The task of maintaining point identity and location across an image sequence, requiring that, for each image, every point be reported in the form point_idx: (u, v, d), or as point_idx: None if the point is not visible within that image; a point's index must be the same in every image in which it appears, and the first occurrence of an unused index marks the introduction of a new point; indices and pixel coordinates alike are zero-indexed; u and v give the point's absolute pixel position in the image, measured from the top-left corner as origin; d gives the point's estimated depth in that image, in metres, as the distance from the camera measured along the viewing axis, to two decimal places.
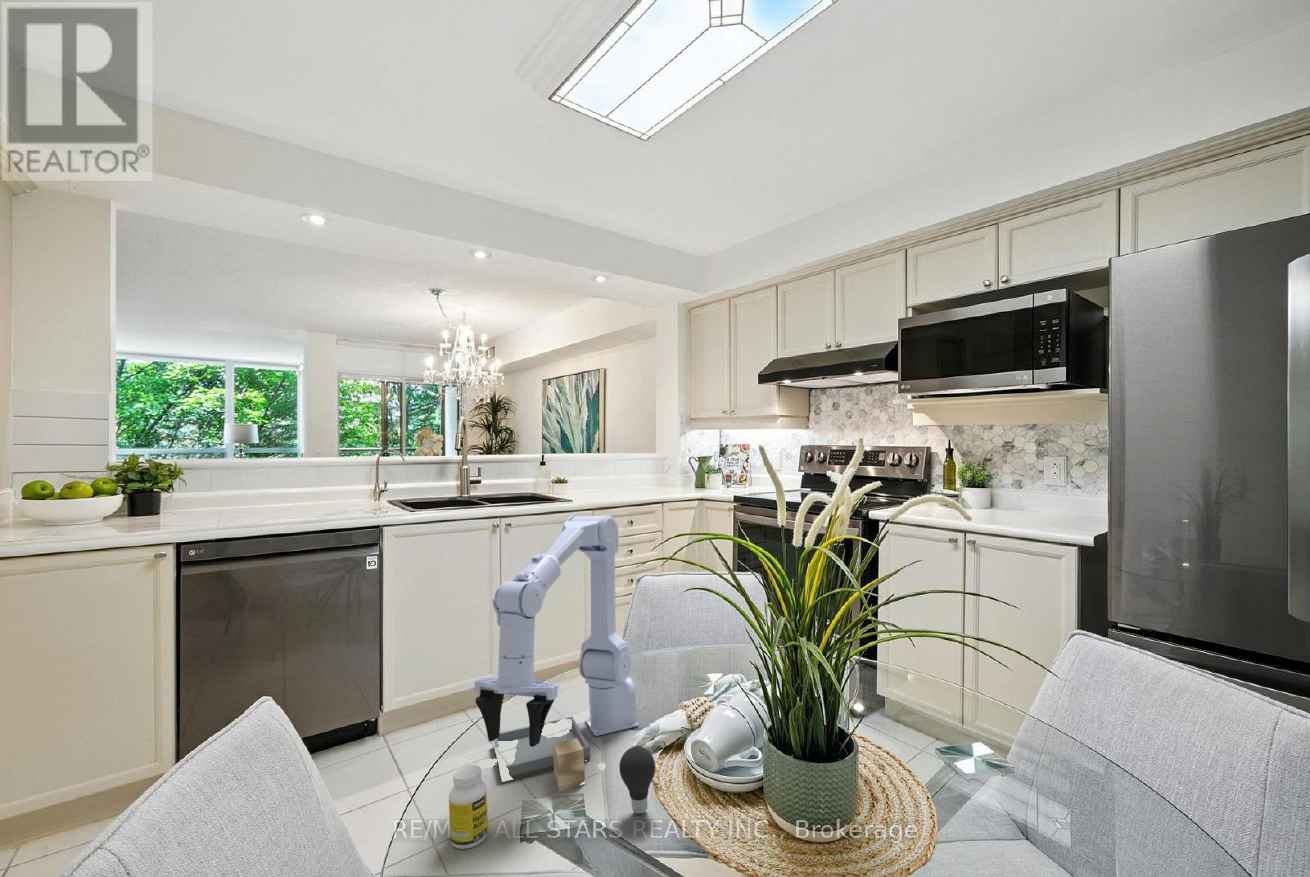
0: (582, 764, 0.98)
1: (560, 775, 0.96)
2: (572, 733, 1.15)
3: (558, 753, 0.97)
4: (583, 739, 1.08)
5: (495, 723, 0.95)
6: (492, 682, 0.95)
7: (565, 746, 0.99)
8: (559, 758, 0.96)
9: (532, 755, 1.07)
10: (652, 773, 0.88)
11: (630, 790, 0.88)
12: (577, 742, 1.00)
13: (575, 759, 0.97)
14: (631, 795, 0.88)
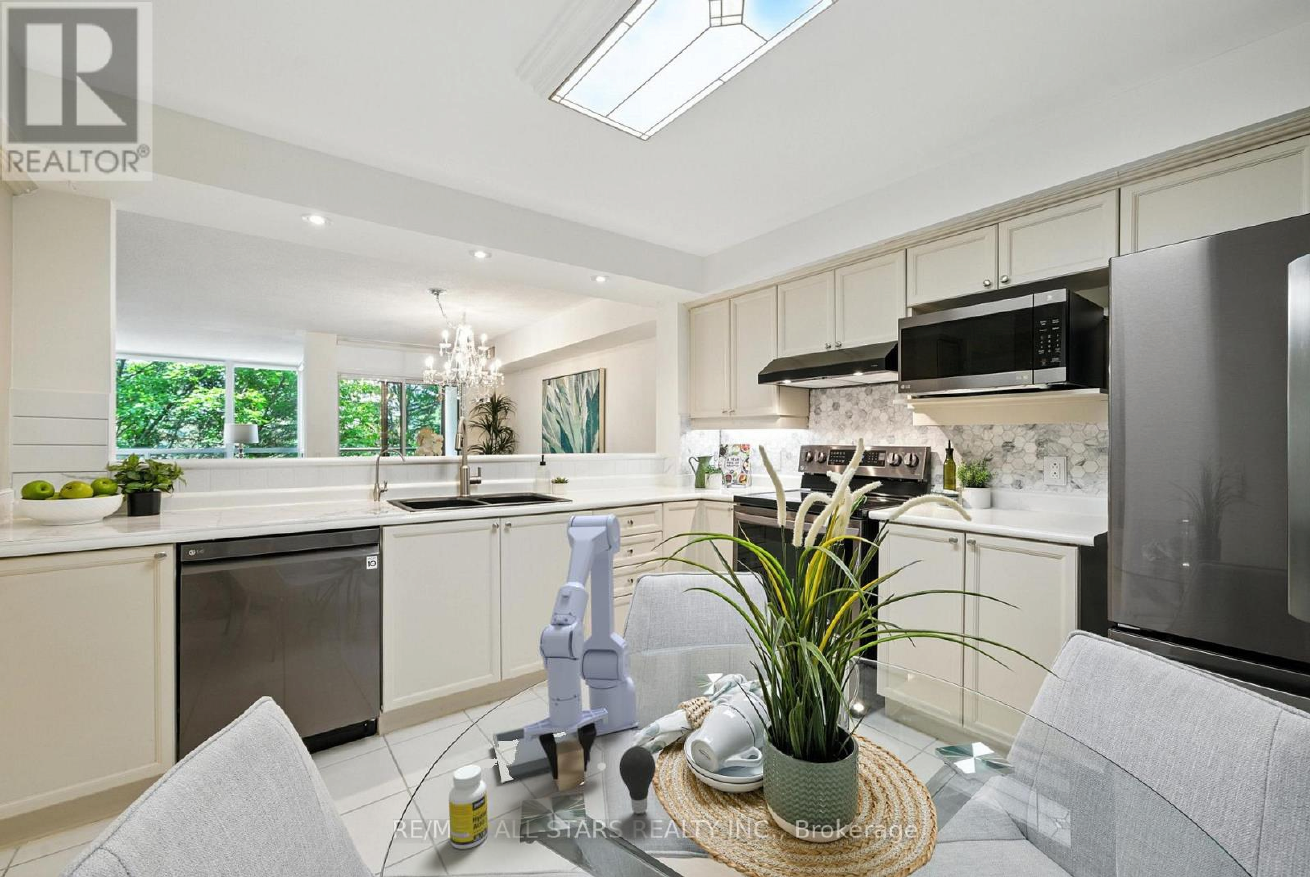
0: (582, 764, 0.98)
1: (560, 775, 0.96)
2: (572, 733, 1.15)
3: (558, 753, 0.97)
4: None
5: None
6: (541, 726, 0.98)
7: (565, 746, 0.99)
8: (559, 758, 0.96)
9: (532, 755, 1.07)
10: (652, 773, 0.88)
11: (630, 790, 0.88)
12: (577, 742, 1.00)
13: (575, 759, 0.97)
14: (631, 795, 0.88)
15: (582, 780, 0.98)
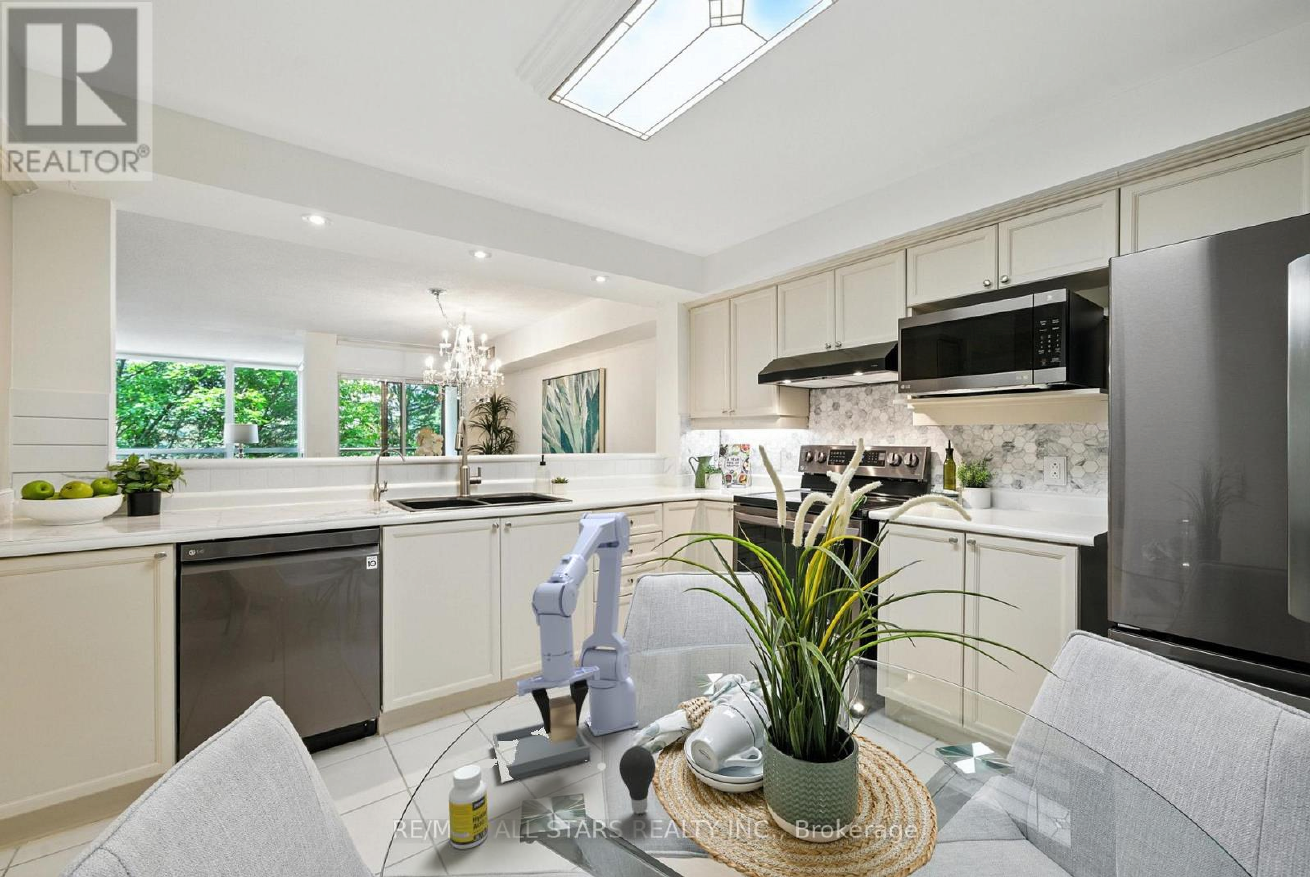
0: (574, 718, 1.00)
1: (553, 728, 0.98)
2: None
3: (551, 707, 0.99)
4: (583, 739, 1.08)
5: None
6: (534, 682, 1.00)
7: (557, 701, 1.01)
8: (552, 712, 0.98)
9: (532, 755, 1.07)
10: (652, 773, 0.88)
11: (630, 790, 0.88)
12: (569, 698, 1.02)
13: (567, 713, 0.99)
14: (631, 795, 0.88)
15: (574, 734, 1.00)
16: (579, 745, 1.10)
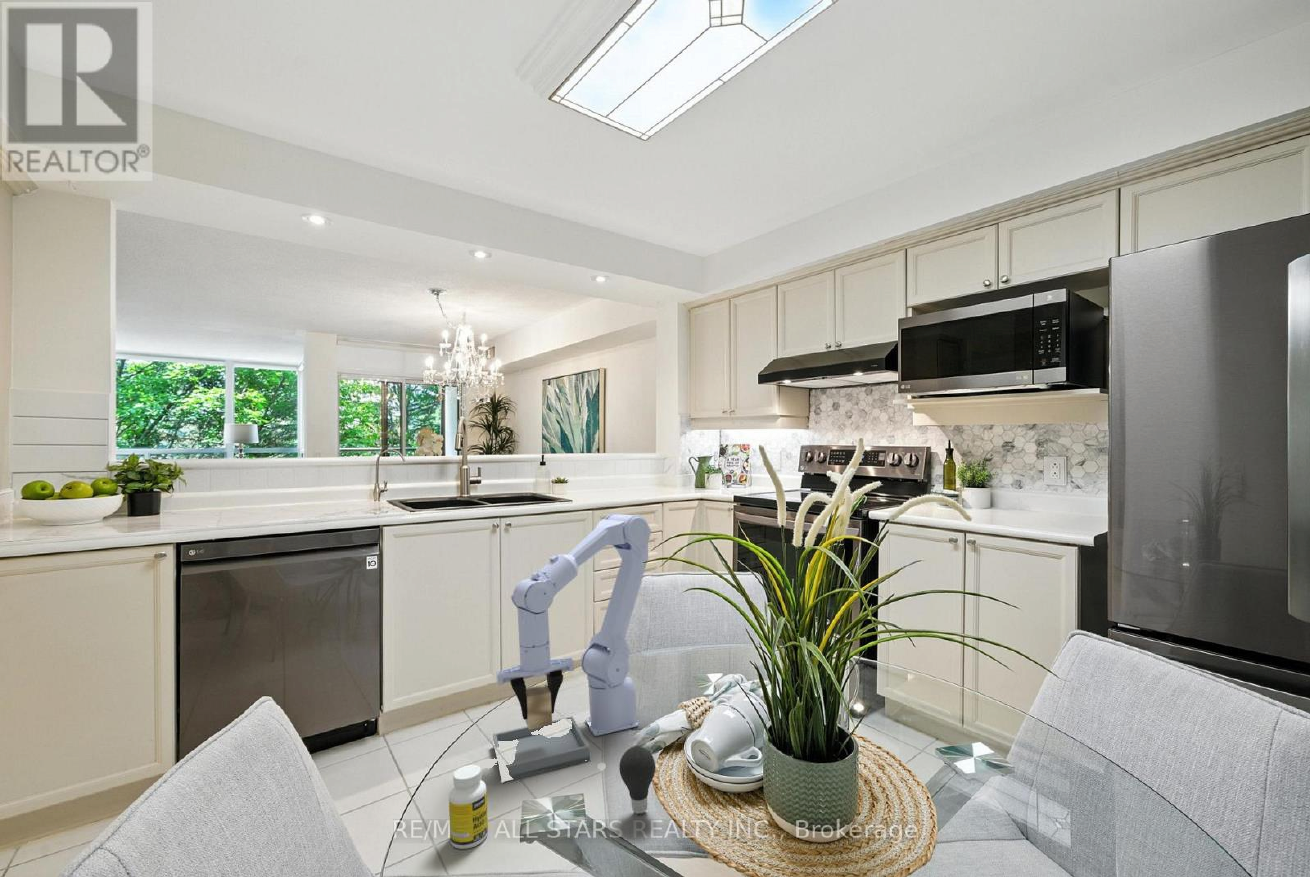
0: (549, 706, 1.08)
1: (529, 715, 1.06)
2: (572, 733, 1.15)
3: (527, 695, 1.07)
4: (583, 739, 1.08)
5: None
6: (513, 671, 1.08)
7: (534, 690, 1.09)
8: (528, 699, 1.07)
9: (532, 755, 1.07)
10: (652, 773, 0.88)
11: (630, 790, 0.88)
12: (546, 687, 1.11)
13: (543, 701, 1.07)
14: (631, 795, 0.88)
15: (549, 720, 1.08)
16: (579, 745, 1.10)
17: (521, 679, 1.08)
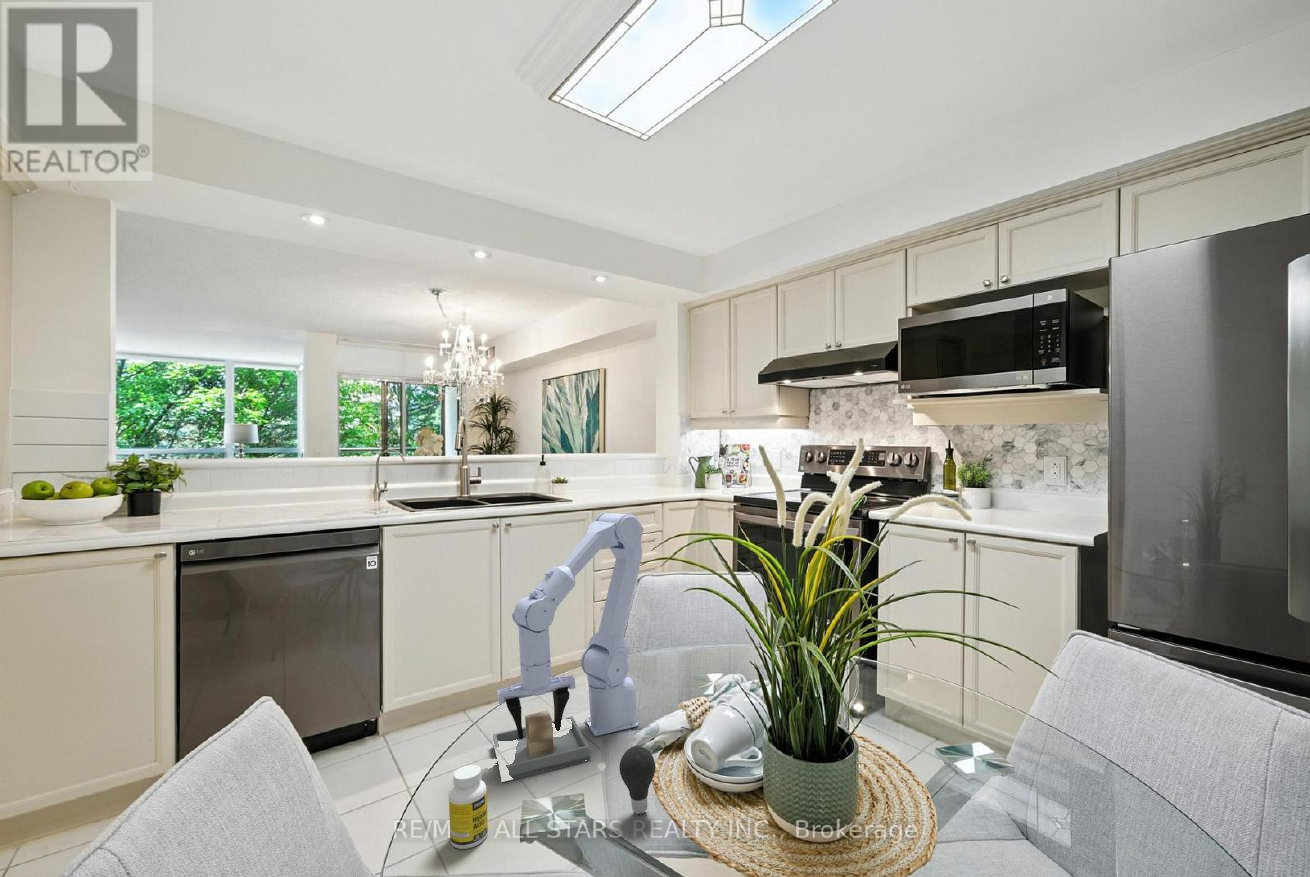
0: (551, 733, 1.08)
1: (531, 743, 1.06)
2: (572, 733, 1.15)
3: (529, 723, 1.07)
4: (583, 739, 1.08)
5: None
6: (514, 690, 1.08)
7: (536, 717, 1.09)
8: (530, 727, 1.06)
9: None
10: (652, 773, 0.88)
11: (630, 790, 0.88)
12: (547, 714, 1.10)
13: (544, 728, 1.07)
14: (631, 795, 0.88)
15: (551, 748, 1.08)
16: (579, 745, 1.10)
17: (516, 699, 1.07)
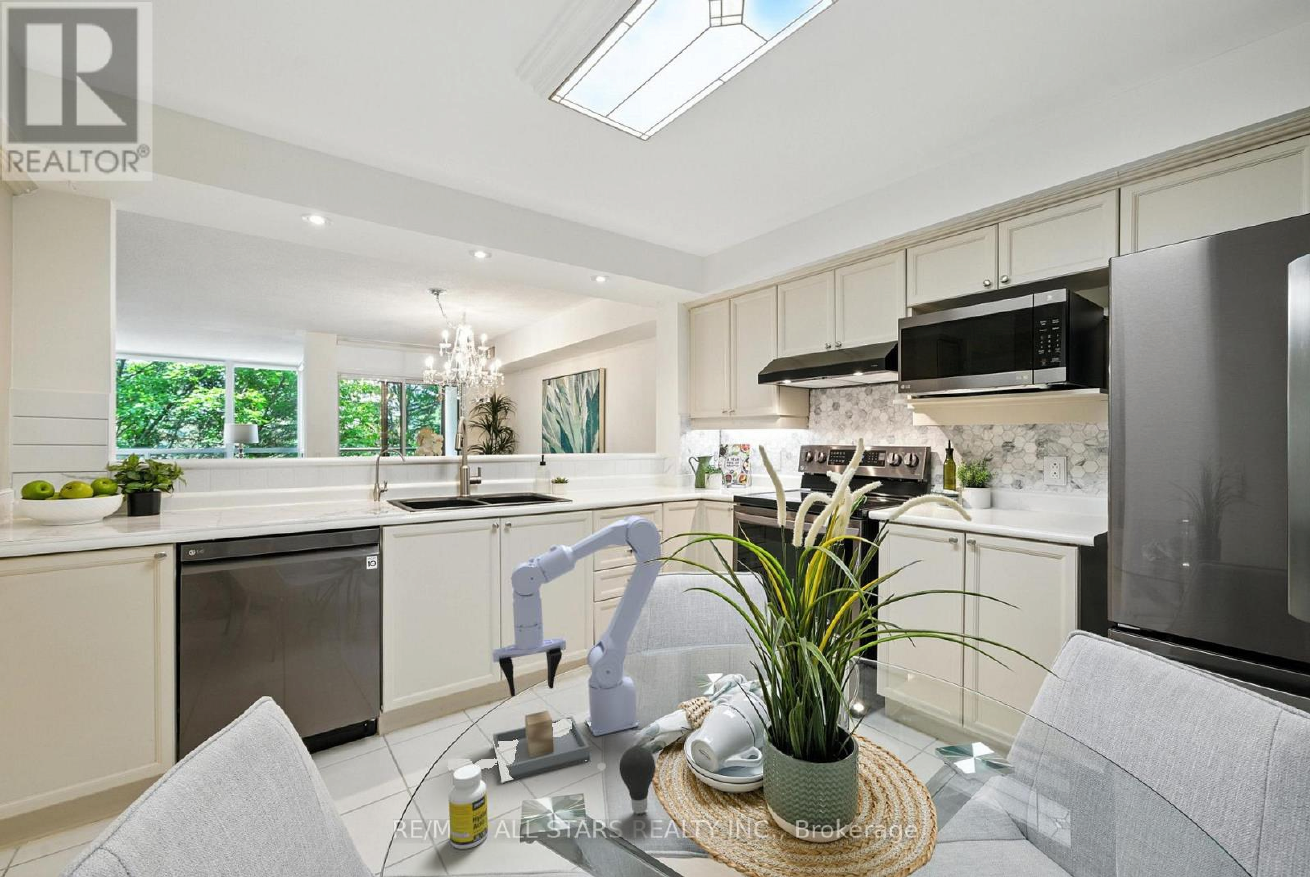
0: (551, 733, 1.08)
1: (531, 743, 1.06)
2: (572, 733, 1.15)
3: (529, 723, 1.07)
4: (583, 739, 1.08)
5: None
6: (508, 650, 1.14)
7: (536, 717, 1.09)
8: (530, 727, 1.06)
9: None
10: (652, 773, 0.88)
11: (630, 790, 0.88)
12: (547, 714, 1.10)
13: (544, 728, 1.07)
14: (631, 795, 0.88)
15: (551, 748, 1.08)
16: (579, 745, 1.10)
17: (509, 658, 1.14)
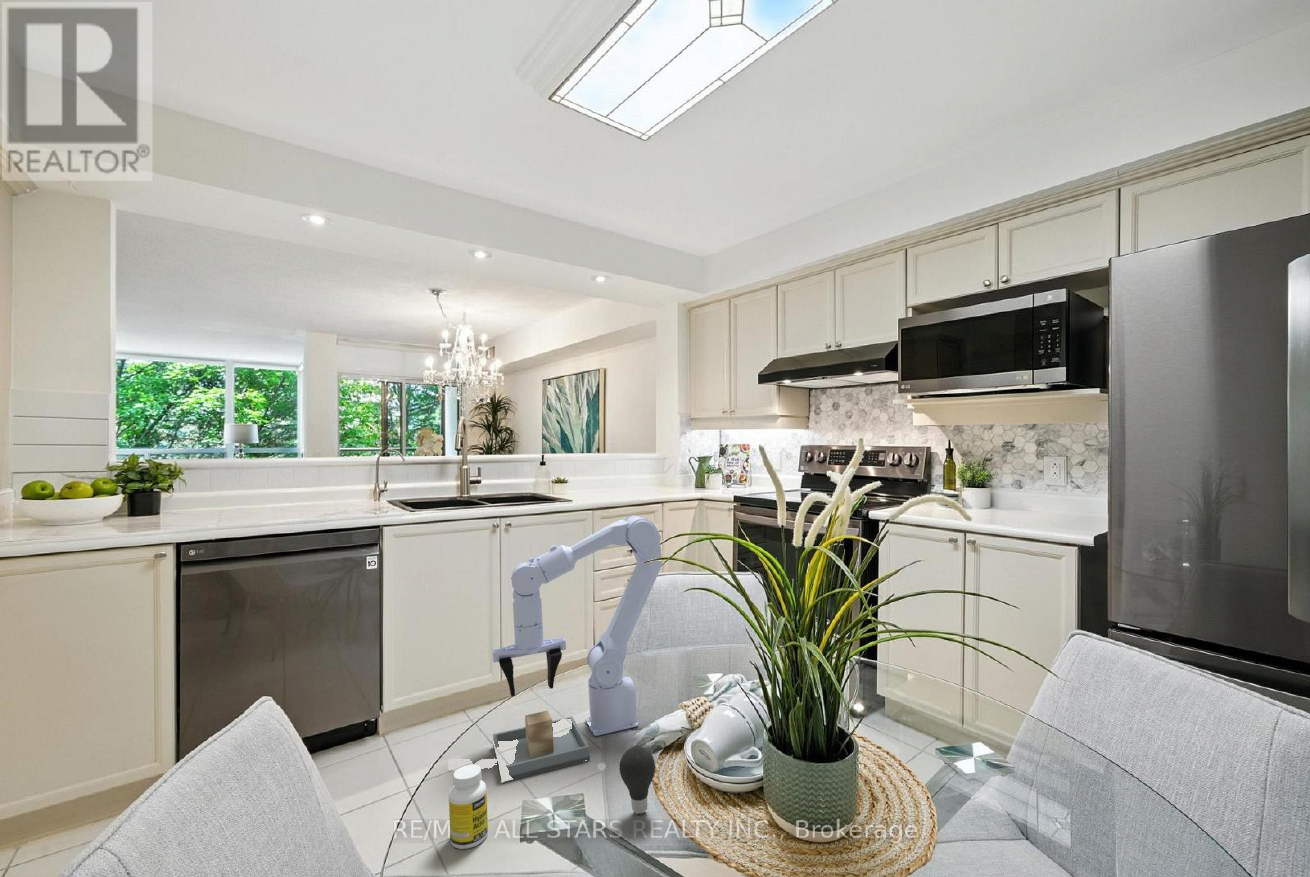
0: (551, 733, 1.08)
1: (531, 743, 1.06)
2: (572, 733, 1.15)
3: (529, 723, 1.07)
4: (583, 739, 1.08)
5: None
6: (508, 650, 1.14)
7: (536, 717, 1.09)
8: (530, 727, 1.06)
9: None
10: (652, 773, 0.88)
11: (630, 790, 0.88)
12: (547, 714, 1.10)
13: (544, 728, 1.07)
14: (631, 795, 0.88)
15: (551, 748, 1.08)
16: (579, 745, 1.10)
17: (509, 658, 1.14)
